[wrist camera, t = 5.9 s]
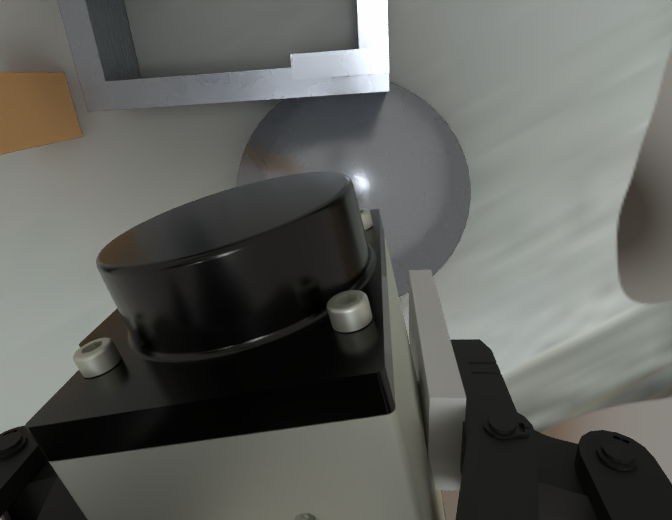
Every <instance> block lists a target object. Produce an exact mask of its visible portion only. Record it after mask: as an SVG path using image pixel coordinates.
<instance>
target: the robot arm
mask: <svg viewBox="0 0 672 520" xmlns="http://www.w3.org/2000/svg"><path fill="white" fill-rule="evenodd" d="M409 340H410V348H411V353H412V357H413V362H414V366H415V371H416V375H417V380H418V384H419V391H420V398H421V405H422V413H423V420H424V427H425V434H426V441H427V448H428V456H429V460H430V464H431V469H432V473H433V477H434V482H435V486H436V490H452V491H460V492H459V499H458V506H457V514H456V520H672V484H671V482H670V481H669V479H668V478H667V476H666V475H665V473H664V472H663V470H662V469H661V467H660V466H659V464H658V463H657V461H656V460H655V458H654V457H653V456H652V455H651V454H650V453H649V452H648V451H647V449H646V448H645V447H643V446H642V445H641V444H639V443H637V442H636V441H634V440H633V439H631V438H629V437H627V436H624V435H621V434H619V433H616V432H610V431H604V430H599V431H590V432H588V433H587V434H585V435H583V436H582V437H581V439H580V441H579V443H578V444H575V443H571V442H567V441H563V440H559V439H555V438H552V437H549V436H546V435H543V434H541V433H539V432H537V431H535V430H534V429H533V426H532V424H531V423H530V422H529V421H528V420H527V419H526V418H525V417H524V416H522V415H521V414H519V413H518V412H517V411H516V408H515V406H514V404H513V401H512V399H511V396H510V394H509V392H508V389H507V387H506V384H505V382H504V379H503V377H502V375H501V374H500V370H499V367H498V365H497V364H496V360H495V358H494V355H493V353H492V350H491V349H490V348H489V347H487V346H486V345H485V344H484V343H483V342H482V341H481V340H480V339H478V340H450V337H449V333H448V330H447V326H446V322H445V319H444V315H443V311H442V308H441V304H440V301H439V297H438V293H437V290H436V286H435V282H434V279H433V275H432V272H431V270H409ZM0 517H1V519H2V520H88V519H87V518H86V516H85V515H84V513H83V512H82V511H81V509H80V508H79V506H78V505H77V503H76V502H75V500H74V499H73V497H72V496H71V494H70V493H69V491H68V490H67V488H66V487H65V485H64V484H63V482H62V481H61V479H60V478H59V476H58V475H57V473H56V472H55V470H54V469H53V467H52V466H51V464H50V463H49V461H48V460H47V458H46V457H45V455H44V454H43V452H42V451H41V449H40V448H39V446H38V445H37V443H36V442H35V440H34V439H33V437H32V436H31V434H30V433H29V432H28V430H27V429H26V427H25V426H21V427H16V428H13V429H11V430H8V431H5V432H3V433H2V434H0Z"/></svg>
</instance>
